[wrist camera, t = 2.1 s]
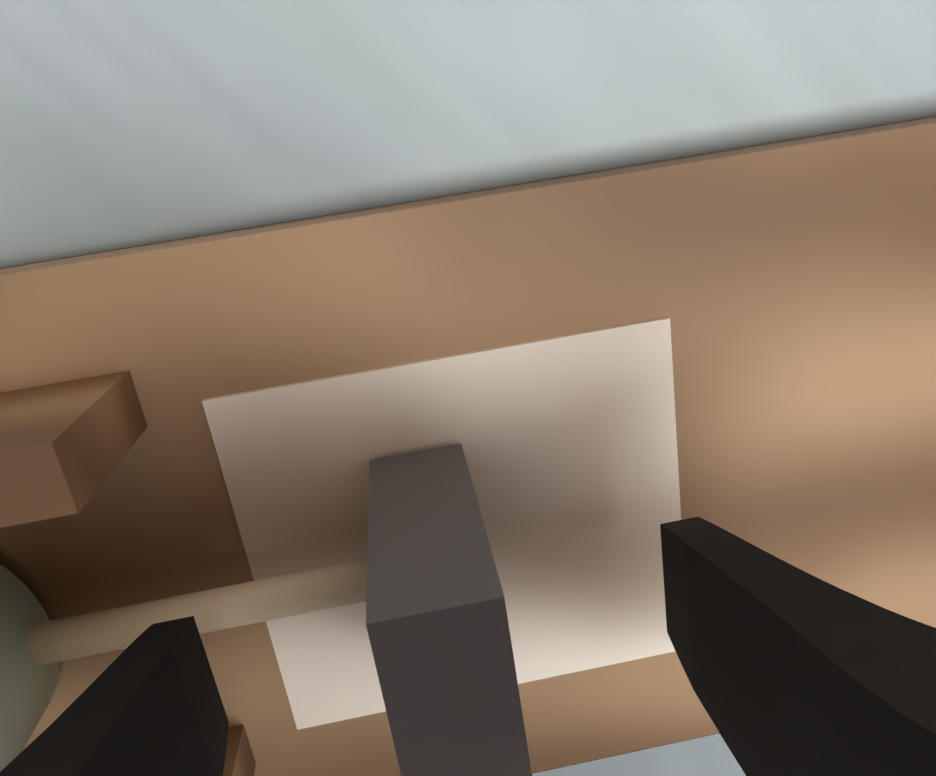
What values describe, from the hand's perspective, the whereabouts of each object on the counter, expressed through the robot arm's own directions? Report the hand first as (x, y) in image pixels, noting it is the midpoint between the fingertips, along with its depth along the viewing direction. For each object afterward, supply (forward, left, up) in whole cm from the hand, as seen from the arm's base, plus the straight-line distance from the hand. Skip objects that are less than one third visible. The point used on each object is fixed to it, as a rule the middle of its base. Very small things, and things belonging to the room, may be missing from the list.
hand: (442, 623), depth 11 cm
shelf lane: (0, +1, -4) cm, 4 cm away
